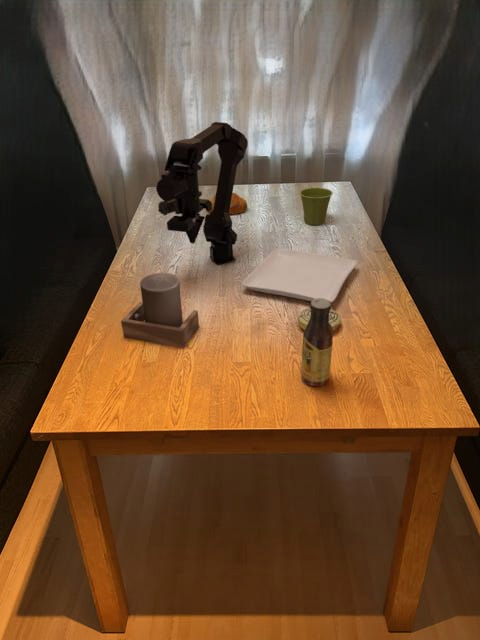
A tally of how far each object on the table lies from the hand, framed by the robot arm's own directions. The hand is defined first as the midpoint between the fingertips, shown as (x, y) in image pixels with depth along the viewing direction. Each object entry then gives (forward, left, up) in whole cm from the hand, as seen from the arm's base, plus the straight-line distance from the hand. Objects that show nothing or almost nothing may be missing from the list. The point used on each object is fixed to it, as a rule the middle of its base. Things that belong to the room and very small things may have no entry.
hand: (192, 242), depth 152 cm
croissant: (-34, -49, -12) cm, 61 cm away
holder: (+18, +22, -12) cm, 31 cm away
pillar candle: (+17, +21, -12) cm, 30 cm away
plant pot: (-56, -21, -12) cm, 61 cm away
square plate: (-27, +16, -13) cm, 34 cm away
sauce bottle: (-5, +57, -12) cm, 59 cm away
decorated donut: (-18, +39, -12) cm, 45 cm away
